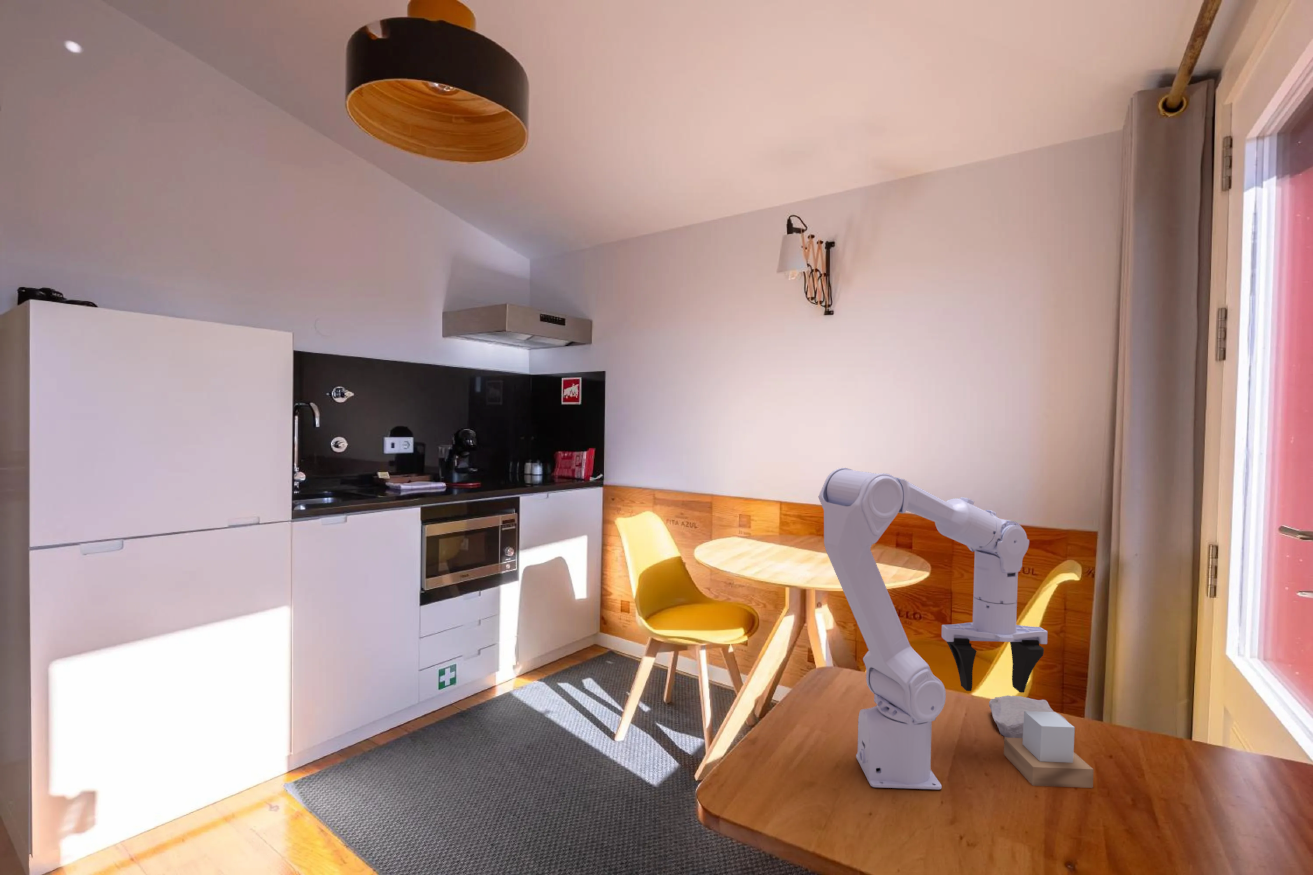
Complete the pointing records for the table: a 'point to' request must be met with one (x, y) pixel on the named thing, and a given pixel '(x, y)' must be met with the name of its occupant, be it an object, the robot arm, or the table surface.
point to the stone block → (1014, 713)
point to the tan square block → (1047, 767)
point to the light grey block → (1048, 736)
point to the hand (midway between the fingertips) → (992, 688)
